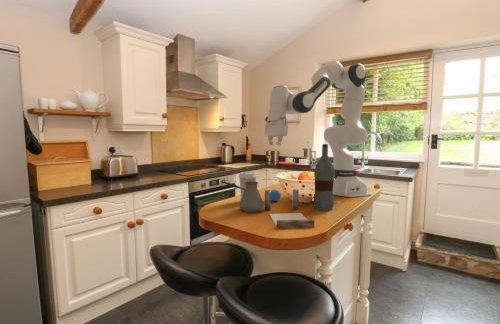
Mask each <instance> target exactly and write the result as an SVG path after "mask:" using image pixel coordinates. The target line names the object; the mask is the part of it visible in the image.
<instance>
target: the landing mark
mask: <svg viewBox="0 0 500 324" xmlns="http://www.w3.org/2000/svg"><path fill="white" fill-rule="evenodd" d="M269 216H270V218H271V219H272V221H273V223H274V225H275V226H277V220H300V219H307V217H305V215H303V214H302V212H292V213H291V212H290V213H288V212H287V213H269Z"/></svg>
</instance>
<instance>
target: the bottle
mask: <svg viewBox="0 0 500 324" xmlns="http://www.w3.org/2000/svg"><path fill="white" fill-rule="evenodd" d="M328 146H329V144H328V143H323V144H321V147H322V148H321V156H320V158H319V160H318V161H317V163H316V164H315V167H314V172H313V174H314V176H313V177H315V194H314V202H313V205H314V209H315V210H317V211H322V212H330V211H332V210H333V208H334V203H335V197H334V196H335V195H333V183H334V175H335V172H334V166H333V162H332V161H331V159H330V157H329V152H328V151H329V147H328Z"/></svg>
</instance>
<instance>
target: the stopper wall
mask: <svg viewBox="0 0 500 324" xmlns="http://www.w3.org/2000/svg"><path fill="white" fill-rule="evenodd" d="M276 228H277V229H279V230H280V229H296V228H297V229H298V228H299V229H301V228H302V229H303V228H315V220H314V219H313V218H306V219H300V220H277V225H276Z"/></svg>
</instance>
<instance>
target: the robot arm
mask: <svg viewBox="0 0 500 324" xmlns="http://www.w3.org/2000/svg"><path fill="white" fill-rule="evenodd" d="M366 78H367V70H366V67H365V65H363V64H361V63H353V64H350V65H347V66H344V67H343V65H342V64H341V62H339V61H338V60H332V61H331V60H330V61H329V62H327V63H324V65H323V66H321V67H320V68H318V69H317V70H316V71H315V72H314V73H313V75H312V76H311V84H312V86H311V87H309V89H307V90H305V91H301V92H299V93H296V94H295V93H293V92H292V91H290V90H289V87H288V86H287V85H277V86H274V87H273V88H272V89H271V93H270V96H269V110H268V114H267V116H266V117H265V118H264V122H265V124H264V136H265V137H268V138H267V139H268V146H273V145H274V141H273V139H274V137H277V141H276V143H275V144H276V146H282V141H283V140H284V138H283V137H286V136H288V129H289V126H288V125H289V124H288V123H289V122H288V120H287V114H288V115H297V114H307V113H309V112H311V110H312V109H313V107H314V105H315V103H316V102H317V100H318V99H320V98H321V96H322V95H323V94H324V93H325V92H326V91H327V90H328V89H329V88H330V87H332V88H333V89H334V90H342V89H344V91H345V92H344V93H345V95H344V97H343V101H342V104H341V108H340V111H339V114H340V116H341V119H343V120H344V125H333V126H332V125H331V126H328V127H326V128H325V130H324V133H323V139H324V140H325V143H326V144H328V146H329V147H330V149H331V152H332V158H333V162H332V164H333V166H334V172H335V175H334V178H335V180H334V183H333V196H340V197H346V198H353V197H354V198H355V197H366V196H371V195H372V193H371V192H370V191H368V187H367V184H366V183H365V182H364V180H362V179H361V178H360V177H358V175H360V174H361V171H360V170H355V169H354V167H355V163H354V162H355V156H354V154H353V153H352V152H350V150H349V149H348V146H357V145H358V146H359V145H363V144H364V143H365V142H366V140H367V139H368V138H367V137H368V132H367V129H366V128H365V126H364V125H363V124H362V122H361V114H362V111H363V105H364V102H365V95H366V89H365V87H364V84H365V82H366Z"/></svg>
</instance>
